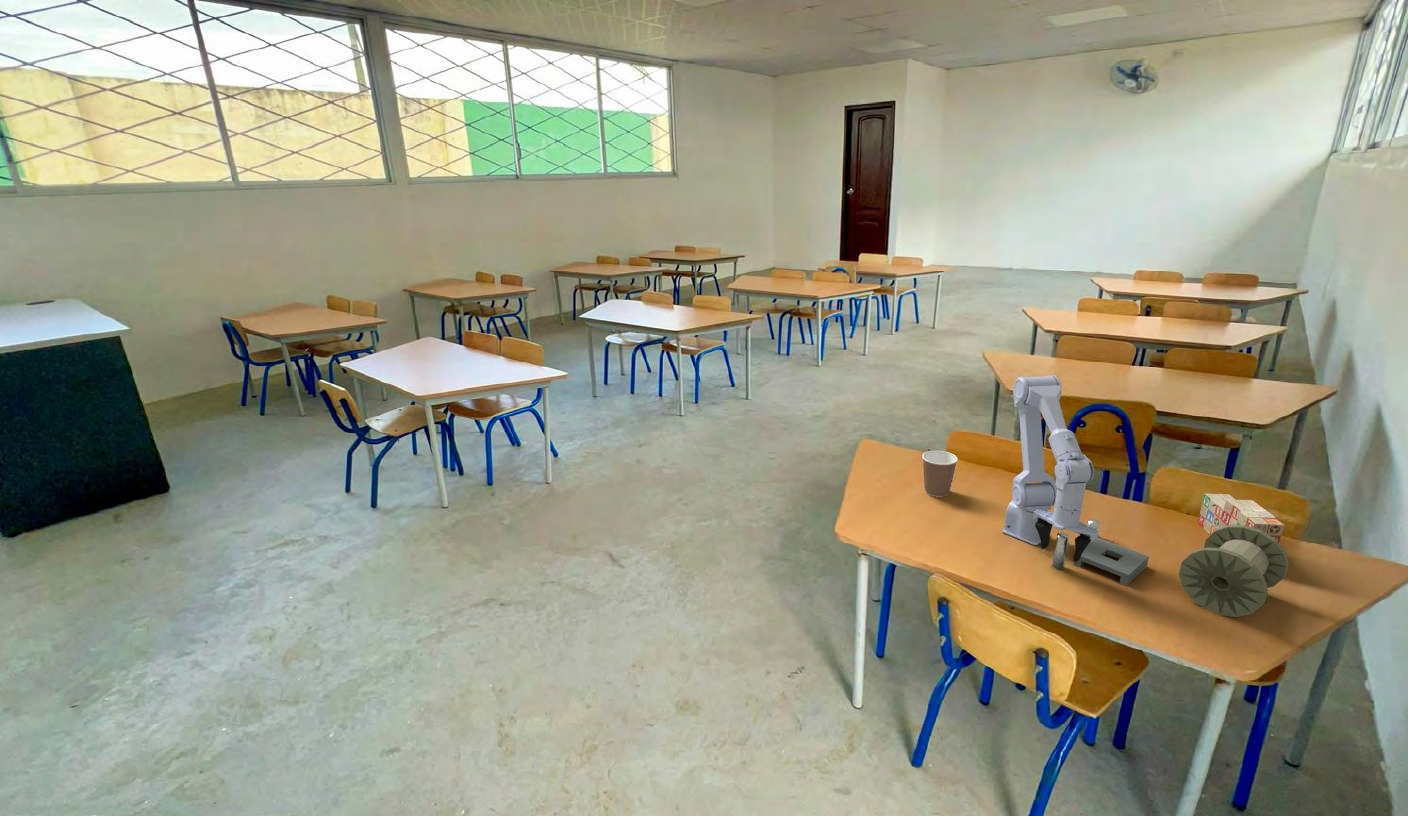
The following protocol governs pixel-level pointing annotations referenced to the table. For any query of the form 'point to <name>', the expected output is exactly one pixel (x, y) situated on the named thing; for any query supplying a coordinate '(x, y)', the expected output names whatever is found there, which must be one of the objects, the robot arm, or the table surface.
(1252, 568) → the spool
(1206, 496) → the stack of blocks
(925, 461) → the coffee cup
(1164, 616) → the table surface
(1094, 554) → the board
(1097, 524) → the short pin
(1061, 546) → the long pin
